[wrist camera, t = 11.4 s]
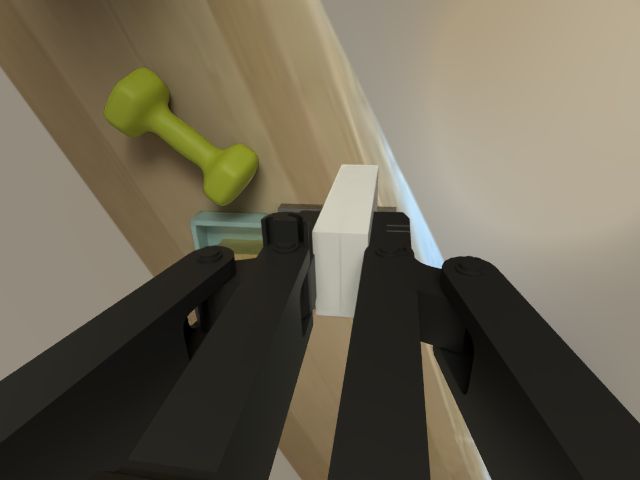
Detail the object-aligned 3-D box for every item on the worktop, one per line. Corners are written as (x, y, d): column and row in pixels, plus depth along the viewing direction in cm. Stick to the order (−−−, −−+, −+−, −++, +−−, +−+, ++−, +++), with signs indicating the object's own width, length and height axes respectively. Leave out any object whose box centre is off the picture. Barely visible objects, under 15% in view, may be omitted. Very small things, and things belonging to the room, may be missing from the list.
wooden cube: (252, 239, 53) (241, 253, 49) (282, 240, 52) (273, 255, 48) (255, 266, 54) (245, 282, 51) (284, 267, 54) (276, 283, 50)
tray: (200, 211, 53) (189, 220, 50) (282, 214, 51) (275, 223, 48) (213, 284, 58) (204, 296, 55) (288, 289, 56) (282, 301, 53)
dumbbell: (127, 114, 49) (87, 126, 42) (156, 57, 45) (116, 60, 39) (238, 200, 51) (215, 223, 45) (273, 153, 48) (254, 170, 41)
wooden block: (223, 238, 53) (210, 252, 50) (252, 239, 53) (241, 254, 49) (227, 265, 55) (215, 280, 52) (255, 266, 54) (245, 282, 51)
